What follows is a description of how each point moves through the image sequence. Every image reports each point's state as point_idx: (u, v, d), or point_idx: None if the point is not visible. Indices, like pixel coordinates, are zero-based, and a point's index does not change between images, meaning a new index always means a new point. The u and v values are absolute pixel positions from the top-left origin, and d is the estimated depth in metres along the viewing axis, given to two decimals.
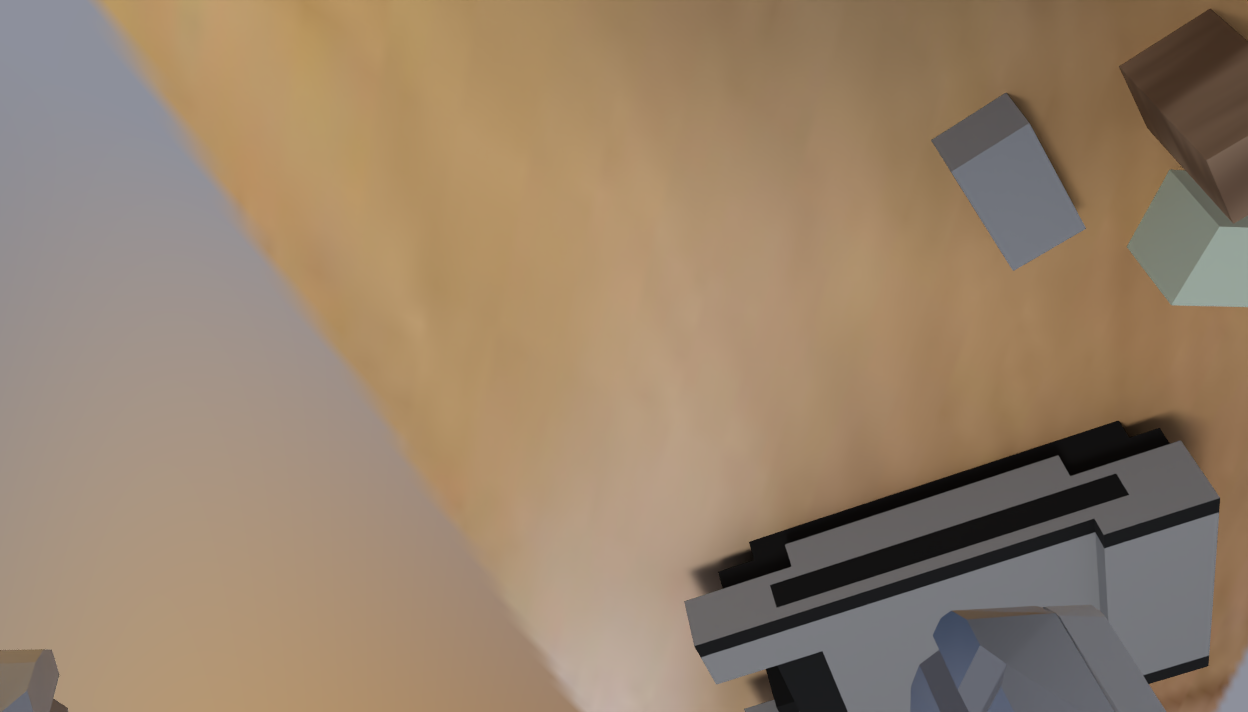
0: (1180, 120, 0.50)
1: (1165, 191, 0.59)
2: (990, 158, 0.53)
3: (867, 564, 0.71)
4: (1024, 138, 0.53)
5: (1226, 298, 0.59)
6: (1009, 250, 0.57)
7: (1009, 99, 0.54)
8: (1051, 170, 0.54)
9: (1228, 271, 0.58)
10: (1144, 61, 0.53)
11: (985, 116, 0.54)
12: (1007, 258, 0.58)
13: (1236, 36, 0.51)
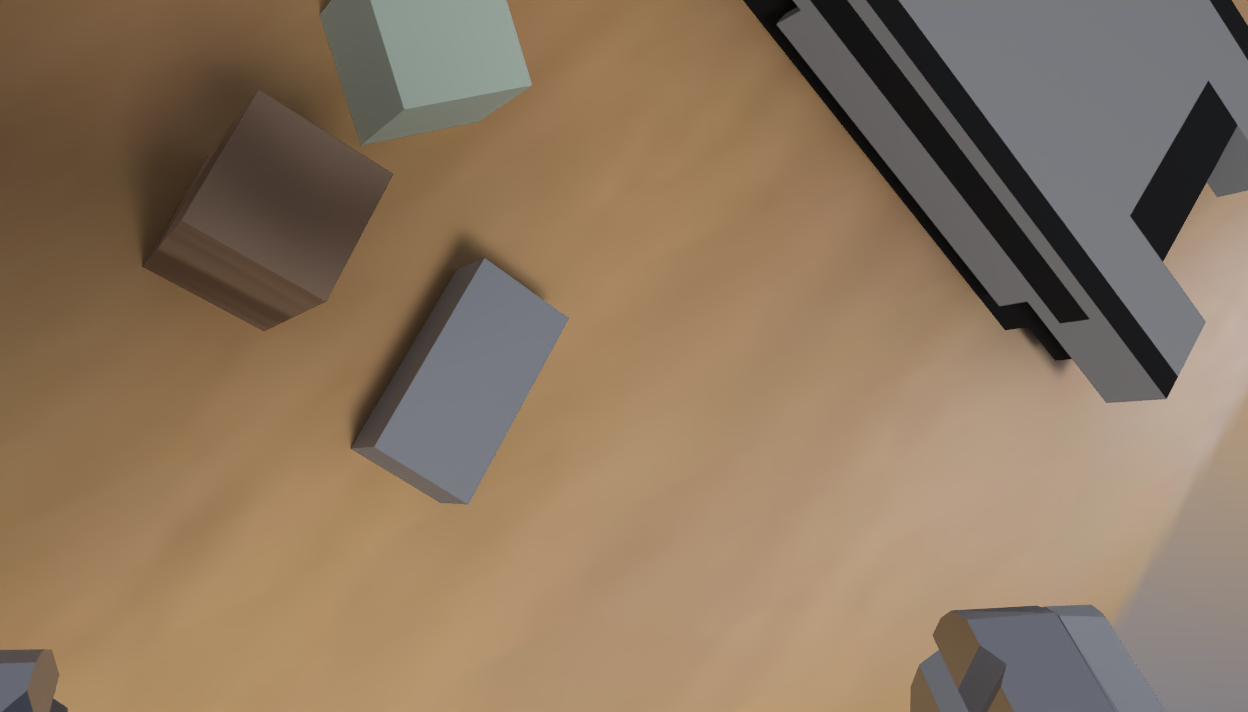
0: (292, 308, 0.36)
1: (390, 137, 0.43)
2: (435, 464, 0.40)
3: (1000, 227, 0.52)
4: (395, 438, 0.39)
5: (495, 6, 0.40)
6: (544, 344, 0.43)
7: (356, 449, 0.41)
8: (424, 367, 0.40)
9: (458, 37, 0.40)
10: (243, 315, 0.39)
11: (387, 467, 0.41)
12: (555, 339, 0.43)
13: (157, 255, 0.36)
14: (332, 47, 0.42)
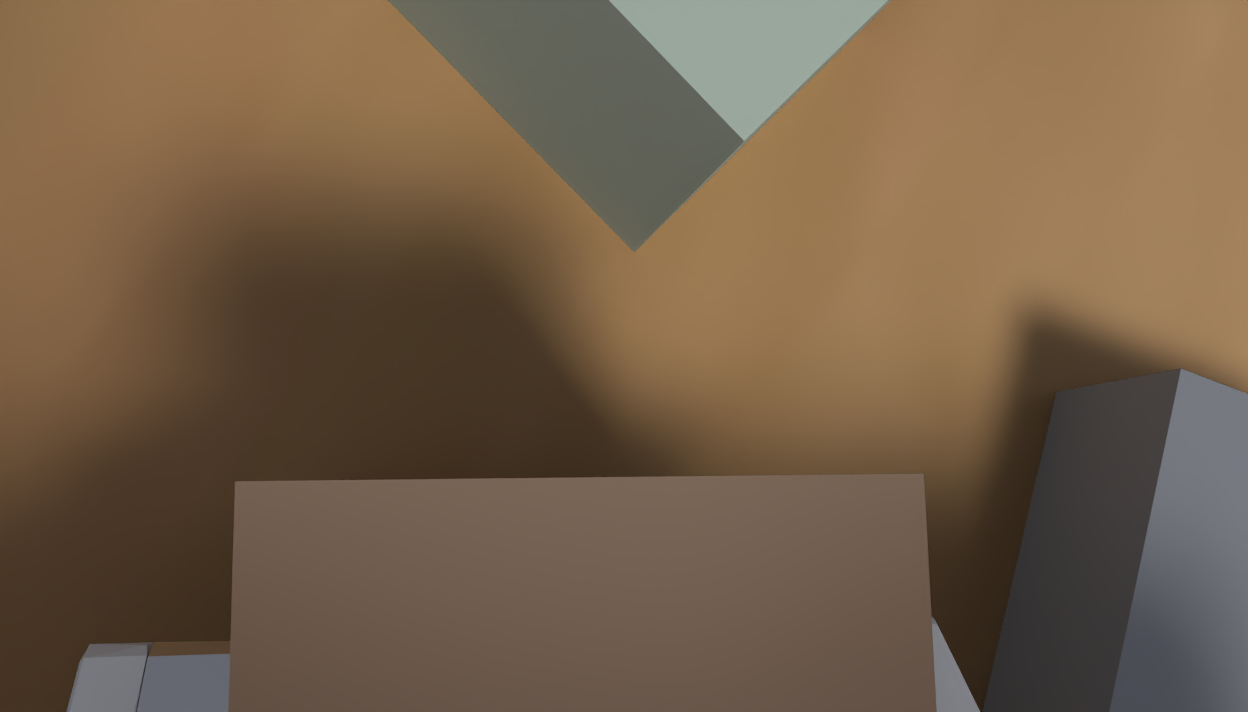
0: None
1: None
2: None
3: None
4: None
5: None
6: None
7: None
8: None
9: None
10: None
11: None
12: None
13: None
14: (448, 54, 0.16)
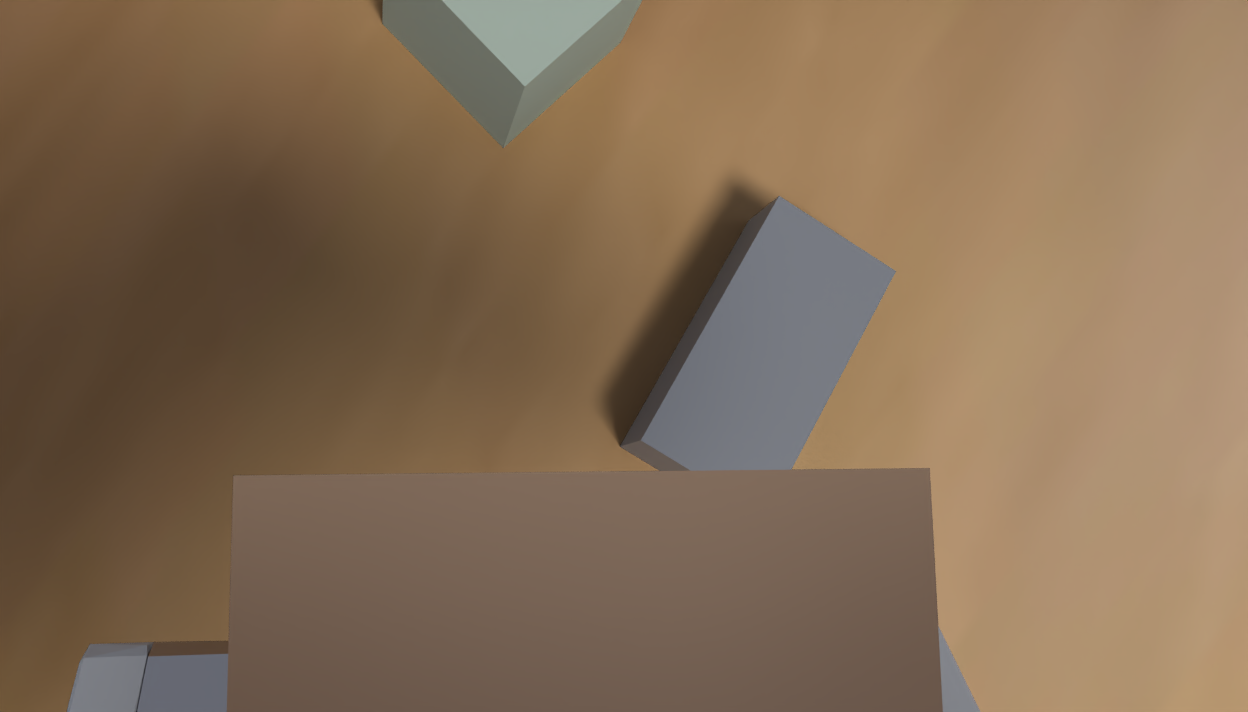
0: None
1: (530, 119, 0.33)
2: (721, 464, 0.31)
3: None
4: (668, 430, 0.30)
5: None
6: (863, 306, 0.32)
7: (625, 446, 0.32)
8: (703, 338, 0.31)
9: None
10: None
11: (665, 469, 0.32)
12: (878, 299, 0.32)
13: None
14: (414, 52, 0.33)
